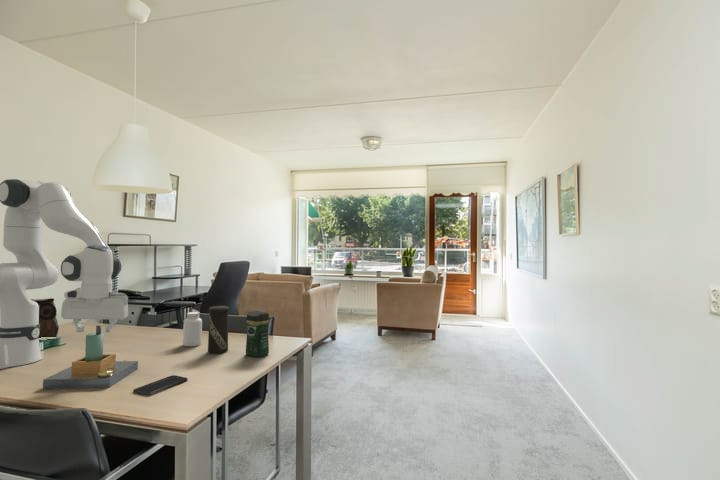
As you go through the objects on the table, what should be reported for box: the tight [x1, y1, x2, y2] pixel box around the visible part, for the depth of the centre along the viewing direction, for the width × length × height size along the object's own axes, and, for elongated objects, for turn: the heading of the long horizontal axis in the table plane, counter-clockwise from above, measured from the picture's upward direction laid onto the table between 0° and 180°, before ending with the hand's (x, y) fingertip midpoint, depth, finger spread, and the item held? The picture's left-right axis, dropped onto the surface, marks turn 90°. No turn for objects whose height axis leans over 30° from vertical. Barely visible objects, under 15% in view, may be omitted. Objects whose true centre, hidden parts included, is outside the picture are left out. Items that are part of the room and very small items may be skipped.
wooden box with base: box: [42, 353, 139, 390], centre depth 125 cm, size 20×18×7 cm
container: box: [207, 305, 230, 355], centre depth 159 cm, size 9×9×20 cm
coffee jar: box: [245, 310, 270, 358], centre depth 155 cm, size 10×8×19 cm
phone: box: [132, 374, 188, 397], centre depth 119 cm, size 8×1×15 cm
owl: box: [29, 297, 60, 338], centre depth 177 cm, size 13×13×20 cm
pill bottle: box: [182, 311, 203, 347], centre depth 170 cm, size 8×8×15 cm
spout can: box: [84, 324, 105, 361], centre depth 125 cm, size 5×5×15 cm
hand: (94, 331), depth 125 cm, fingers open, 8 cm apart
